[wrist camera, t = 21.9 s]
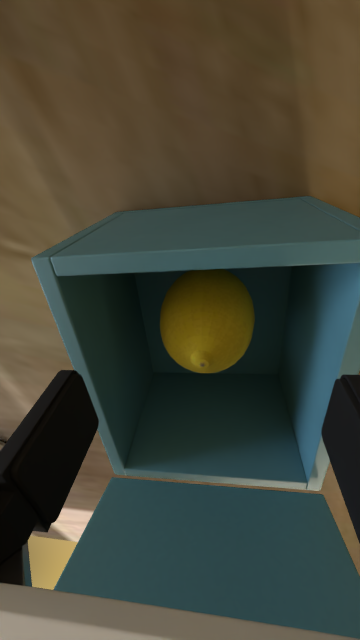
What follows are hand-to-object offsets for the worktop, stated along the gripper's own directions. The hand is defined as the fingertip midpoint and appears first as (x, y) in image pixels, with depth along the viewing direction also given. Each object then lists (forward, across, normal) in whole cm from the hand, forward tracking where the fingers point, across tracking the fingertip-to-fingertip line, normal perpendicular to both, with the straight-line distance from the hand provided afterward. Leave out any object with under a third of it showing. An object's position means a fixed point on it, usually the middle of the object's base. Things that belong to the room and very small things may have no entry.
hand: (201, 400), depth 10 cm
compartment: (+12, 0, +2) cm, 12 cm away
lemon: (+11, 0, 0) cm, 11 cm away
